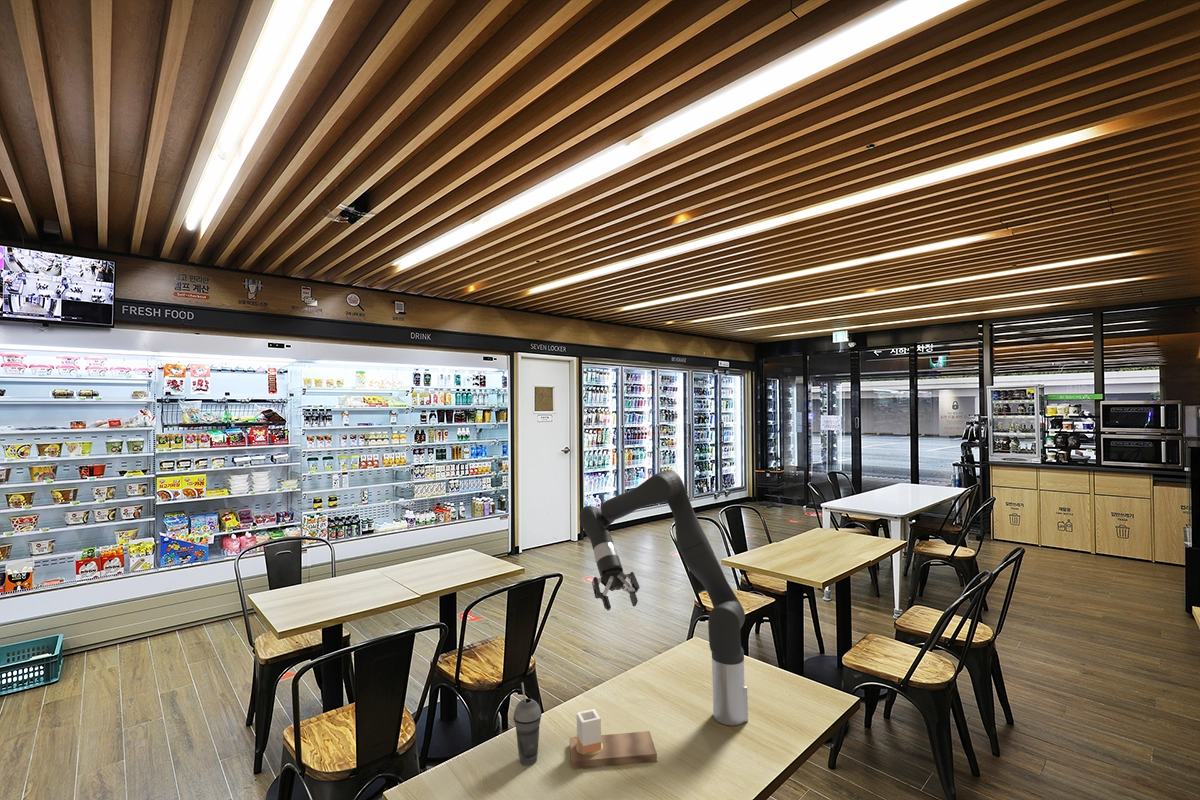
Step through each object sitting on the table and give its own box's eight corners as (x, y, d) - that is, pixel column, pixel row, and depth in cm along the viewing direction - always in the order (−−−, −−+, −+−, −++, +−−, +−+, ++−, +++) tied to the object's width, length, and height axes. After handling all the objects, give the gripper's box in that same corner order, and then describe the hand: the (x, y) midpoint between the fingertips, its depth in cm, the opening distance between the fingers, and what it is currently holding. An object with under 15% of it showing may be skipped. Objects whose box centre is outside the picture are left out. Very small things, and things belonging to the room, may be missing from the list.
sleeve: (577, 743, 146) (576, 712, 146) (595, 738, 147) (594, 708, 148) (583, 754, 141) (582, 722, 141) (601, 749, 143) (600, 718, 143)
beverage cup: (537, 771, 138) (535, 691, 139) (510, 768, 140) (508, 689, 140) (545, 753, 145) (544, 677, 146) (519, 750, 147) (518, 675, 147)
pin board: (649, 738, 151) (649, 713, 151) (657, 761, 141) (656, 734, 141) (569, 745, 149) (569, 719, 149) (571, 769, 139) (570, 742, 139)
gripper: (589, 556, 172) (603, 604, 161) (630, 551, 177) (647, 597, 167) (584, 568, 177) (597, 616, 166) (624, 563, 182) (640, 609, 171)
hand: (622, 607), depth 166 cm, fingers open, 8 cm apart
